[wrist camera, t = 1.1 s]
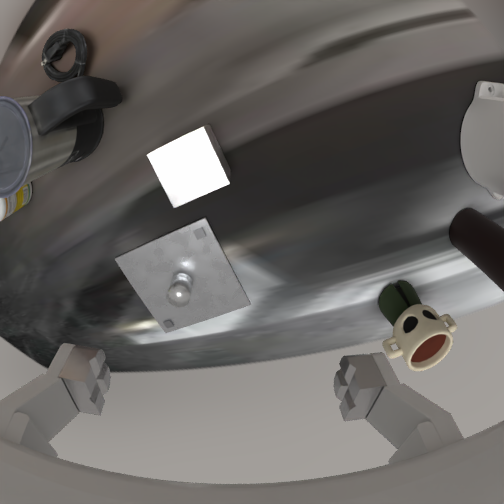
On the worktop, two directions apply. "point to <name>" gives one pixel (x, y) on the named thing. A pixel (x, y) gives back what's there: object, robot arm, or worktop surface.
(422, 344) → the character mug
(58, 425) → the robot arm
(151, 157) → the chalk-like cube
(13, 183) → the milk frother
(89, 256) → the worktop surface
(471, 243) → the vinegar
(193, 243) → the plate
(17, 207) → the supplement bottle
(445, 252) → the worktop surface
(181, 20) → the worktop surface
